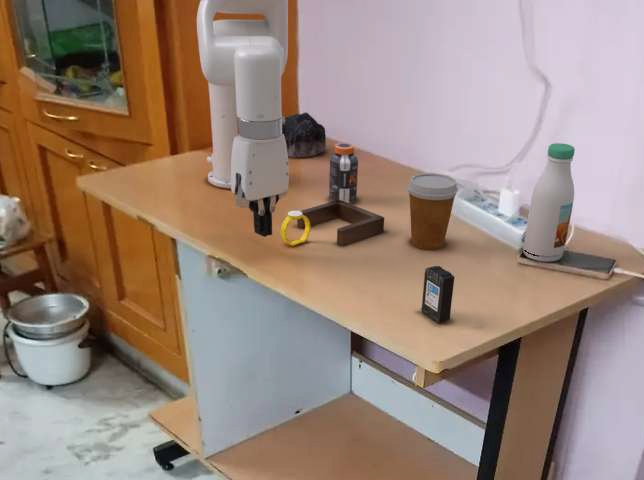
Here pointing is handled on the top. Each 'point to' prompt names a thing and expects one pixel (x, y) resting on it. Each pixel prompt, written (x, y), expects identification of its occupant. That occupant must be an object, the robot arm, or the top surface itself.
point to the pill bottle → (343, 174)
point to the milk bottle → (551, 206)
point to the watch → (289, 218)
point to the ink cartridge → (437, 293)
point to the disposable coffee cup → (430, 208)
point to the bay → (361, 219)
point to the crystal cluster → (303, 136)
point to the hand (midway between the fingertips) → (263, 233)
